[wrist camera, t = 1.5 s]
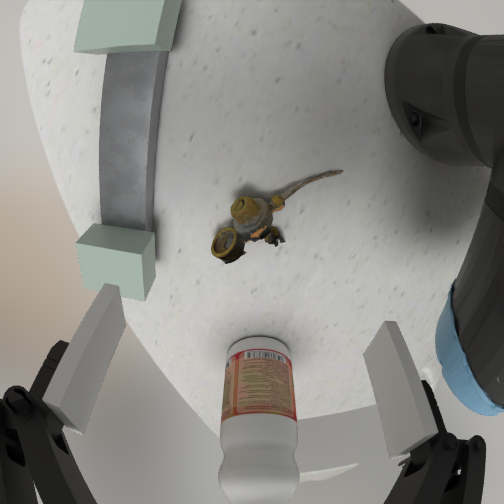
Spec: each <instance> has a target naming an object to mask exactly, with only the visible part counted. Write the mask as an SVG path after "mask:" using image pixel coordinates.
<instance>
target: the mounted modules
mask: <svg viewBox="0 0 504 504" xmlns="http://www.w3.org/2000/svg"><path fill="white" fill-rule="evenodd" d="M181 3H182V0H85V1H84V5H83V8H82V12H81V17H80V21H79V26H78V30H77V35H76V41H75V46H74V52H78V53H89V54H97V55H99V54H108V53H120V52H137V51H171V49H172V43H173V38H174V33H175V29H176V24H177V19H178V15H179V11H180V7H181ZM76 248H77V254H78V260H79V265H80V270H81V275H82V279H83V283H84V288H86V289H90V290H95V291H99V292H100V290H101V288H102V287H103V285H104V284H105V283H108V284H113V285H117V286H119V290H120V296H121V297H126V298H130V299H135V300H140V301H145V300H146V298H147V295H148V293H149V291H150V288H151V286H152V284H153V282H154V280H155V277H156V272H155V232H148V231H142V230H135V229H129V228H122V227H115V226H109V225H102V224H96V223H94V224H93V225H92V226H91V227H90V228H89V229H88V230H87V231H86V232H85V233H84V234H83V235H82V236H81V237H80V239H79V240H78V241H77V242H76Z"/></svg>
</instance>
